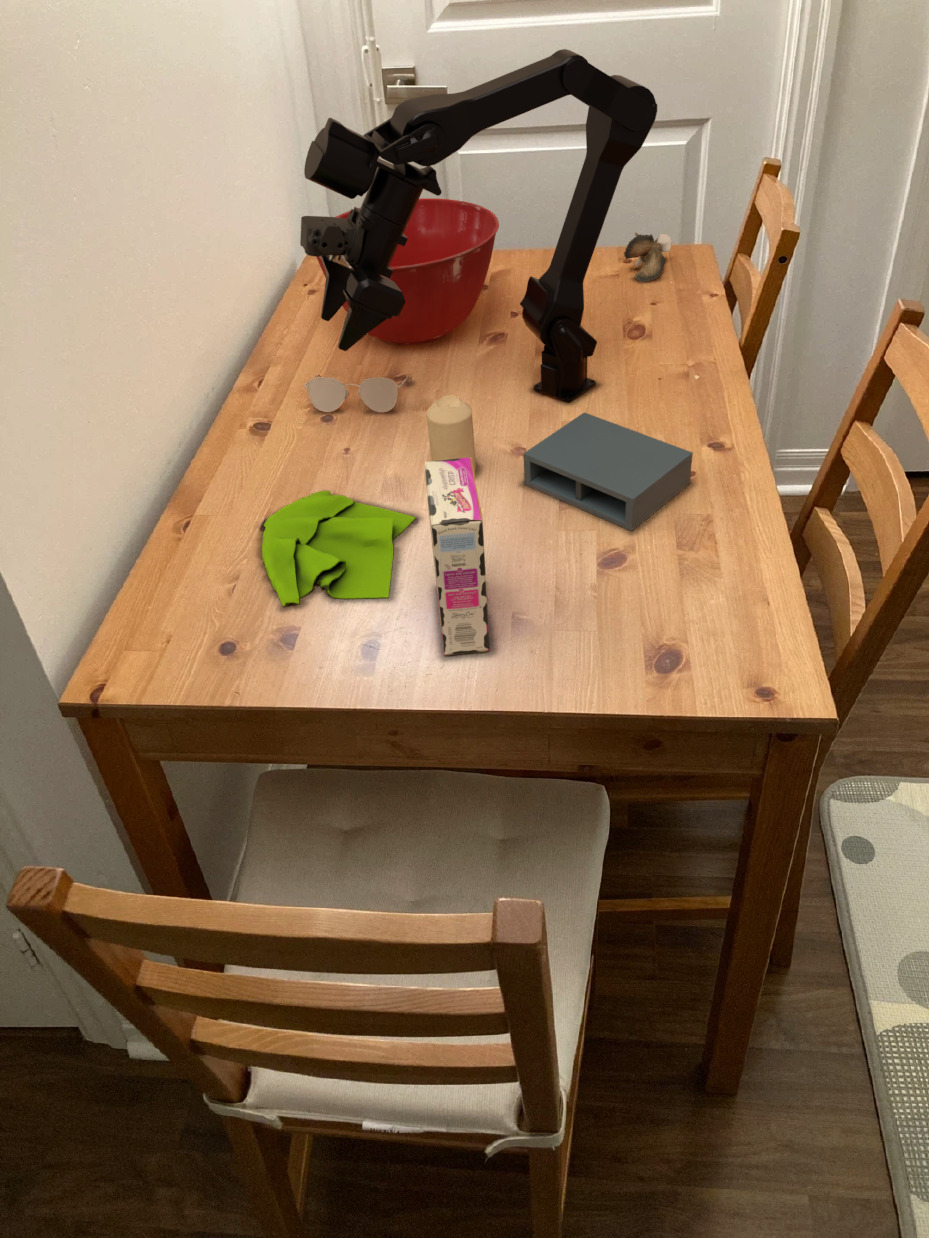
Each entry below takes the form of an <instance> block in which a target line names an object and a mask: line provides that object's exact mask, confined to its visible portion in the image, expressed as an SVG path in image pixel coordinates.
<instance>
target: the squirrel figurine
mask: <svg viewBox="0 0 929 1238" xmlns="http://www.w3.org/2000/svg"><path fill="white" fill-rule="evenodd" d="M634 235H635V237H633V238H632V239H630V241H628V243H627V245H626V247H625V248H624V249H625V250H624V251H623V257H624V258H625V260H628V259H636V258H637V260H636V262H635V263H634V266H633V270H636V268H639V267H640V266H641V268H640V269H639V270H638V272H636V274H635V276H634V278H635V279H636V281H638V282H640V283H646V282H650V281H654V280H656V279H657V280H658V278H660V277H661V275H662V274H663V271H664V268H665V265H666V264H667V260H666V257H665V256H664V254H663V253H669V252H670V251H671V249H672V244H673V242H672V237H671V236H670V235H668V234H666V233H660V234H658V235H659V236H658V237H657V238H656V239H654V236H653V234H652V233H651V234H638V232H634Z"/></svg>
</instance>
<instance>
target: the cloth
mask: <svg viewBox="0 0 929 1238" xmlns="http://www.w3.org/2000/svg"><path fill="white" fill-rule="evenodd" d="M415 520H416V516H412V515H409V514H405V513H401V512H398V511H394V510H390V509H386V508H382V507H378V506H375V505H370V504H365V503H362V502H357V501H355V500H353V499H351V498H350V497H348V496H346V495H342V494H332V493H331V492H330V490H321V491H316V492H313V493H311V494H309V495H306V496H302V497H300V498H298V499H297V500H295V501H293V502H291V503H289V504H287V505H285V506H283V507H281V508H280V509H279V510H277V511H275V513H273V514H271V515H269V516H268V517H267V518H266V519H265V521H264V523H263V524H262V526H263V527H264V530H263V533H262V534H263V535H262V544H261V555H262V556H261V558H262V562H263V565H264V567H265V572H266V575H267V578H268V579H269V581H270V584H271V586H272V589H273V590H274V592H275V593H276V594H277V597H278V598H279V601H280V603H281V606H282V607H287V606H289V605H291V604H297V605H299V604H300V599H302V598H304V597H305V596H307V595H308V594H310V593H311V592H312V591H313V590H314V583H315V584H317V585H319V586H320V589H323V590H325V592H326V594H328V595H329V596H330V597H331V598H334V599H340V600H341V599H342V600H343V599H344V600H345V599H347V600H348V599H349V600H350V599H351V600H355V599H356V600H357V599H361V600H362V599H388V598H389V597H390V596H389V595H390V589H391V579H392V573H393V561H394V544H393V542H394V540H395V539H396V538H397V537H398V536H399V535H400V534H402V533H403V532H405V530H406V529H407V528H408V527H409V526H410V525H411V524H412V523H413V522H414V521H415Z"/></svg>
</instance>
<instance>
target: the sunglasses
mask: <svg viewBox="0 0 929 1238" xmlns="http://www.w3.org/2000/svg"><path fill="white" fill-rule="evenodd" d="M407 379H408V380H407ZM406 381H408V384H410V382H411V380H410V375H409V374H408V375H406V377H405V378H404V380H403V381H402V383H401V384H397V383H396V382H395V381H394V380H393V379H391V378H389V377H384V376H378V377H368V378H365V379H363V380H362V381H361V383H360V384H356V383H347V384H344V383H343V382H342V381H341V380H340V379H337V378H334V377H327V376H326V377H325V376H321V375H320V374H317V375H315V376H314V377H313V378H311V379H310V380H309V381H307V382H306V383H304V384H303V387H304V388H307V394H308V397H309V400H310V402H311V404H312V405H313V406H314V408H316V410H317V411H320V412H323V413H331V412H332V413H333V412H335V411H337V410H338V409H339V408H340V407H341V406H342V404H343V403H344V402H345V401H346V400H347V398H348V397H349V393H350V392H349V390H348V389H347V388H346V387H348V386H356V387H358V396H359V397H360V398H361V400H362V401H363V403H364V405H365V406H366V407H368V408H369V409H370V410H371V411H373V412H376V413H379V414H380V413H387V412H390V411H391V410H393V409H394V407H395V406H396V404H397V401H398V397H399V396H398V393H399V391H398V388H402V387H403V385H404V384H405V382H406Z"/></svg>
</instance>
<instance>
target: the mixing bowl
mask: <svg viewBox="0 0 929 1238" xmlns="http://www.w3.org/2000/svg"><path fill="white" fill-rule="evenodd" d="M358 208H359V209H360V208H361V207H358ZM350 211H351V210H348V211H345V212H344V213H341V214H338V215H336V216H335V217H336V218H344V219H347V217H348V215H349V213H350ZM499 227H500V222H499V218H498V217H497V215H496V214H495V213H493V211H491V210H490V209H489V208H486V207H484V206H481V205H479V204H475V203H473V202H468V201H464V200H459V199H458V200H457V199H449V198H431V197H430V198H429V197H428V198H423V197H422V198H421V197H420V198H419V200H418V202H417V204H416V207H415V209H414V211H413V213H412V216H411V218H410V220H409V222H408V225H407V227H406V229H405V231H404V235H405V236H406V237H407V238H408V240H407V242H406V244H405V246H402V245H400V244H399V245H398V247H397V249H396V251H395V254H394V256H393V258H392V260H391V263H390V265H389V266H390V267H391V269H392V270H393V273H392V275H391V277H390V279H389V278H387V277H384V276H382V275H380V276H382V277H384V278H387V279H389V280H392V281H394V282H395V283H396V285H397V286H398V287H399V289H400V290H401V291H402V293H403V296H404V299H405V305H404V307H403V309H402V311H401V313H400V315H399V317H396V316H393V318H392V319H387V320H385V321H384V322H382V323H381V324H380V325H378V326H377V327H375V328H374V329H373V330H371V331H370V332H369V333H368V334H367V335H370V336H371V337H374V338H377V339H379V340H381V341H382V342H385V343H388V344H393V345H399V346H412V345H414V346H415V345H421V344H427V343H431V342H434V341H437V340H440V339H442V338H445V337H447V336H448V335H450V334H451V333H452V332H454V330H455V329H458V328H459V327H460V326H462V324H463V323H464V322H466V321H467V319H468V317H470V315H471V313H472V312H473V310H474V308H475V306H476V304H477V302H478V300H479V297H480V295H481V292H482V290H483V287H484V285H485V281H486V279H487V275H488V273H489V268H490V266H491V262H492V261H491V260H492V256H493V251H494V247H495V240H496V236H497V235H496V234H497V233H498V231H499ZM316 259H317V261H318V264H319V267H320V269H321V271H322V274H323V276H324V278H325V279H326V269H325V267H324V264H323V262H322V260H321V258H320V256H319V257H316ZM342 308H343V309H344V311H345V312H346V313H347V311H348V308H349V306H348V303H347V301H346V302H345V303H344V304H343V306H342Z"/></svg>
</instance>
